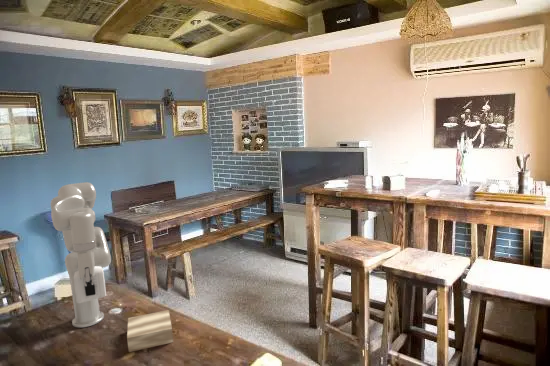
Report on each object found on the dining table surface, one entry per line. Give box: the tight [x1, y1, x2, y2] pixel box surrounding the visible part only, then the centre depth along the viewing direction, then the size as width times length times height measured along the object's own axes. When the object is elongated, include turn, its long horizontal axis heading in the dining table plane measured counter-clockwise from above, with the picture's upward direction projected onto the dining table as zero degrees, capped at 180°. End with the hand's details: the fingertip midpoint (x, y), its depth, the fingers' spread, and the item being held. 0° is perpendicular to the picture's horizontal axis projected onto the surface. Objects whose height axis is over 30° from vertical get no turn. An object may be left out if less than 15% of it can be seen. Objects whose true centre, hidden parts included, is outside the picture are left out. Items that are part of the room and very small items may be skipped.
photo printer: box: [74, 266, 107, 303], centre depth 143 cm, size 10×4×12 cm, turn 123°
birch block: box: [126, 309, 174, 353], centre depth 151 cm, size 16×16×6 cm
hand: (90, 291), depth 143 cm, fingers closed on photo printer, 4 cm apart
